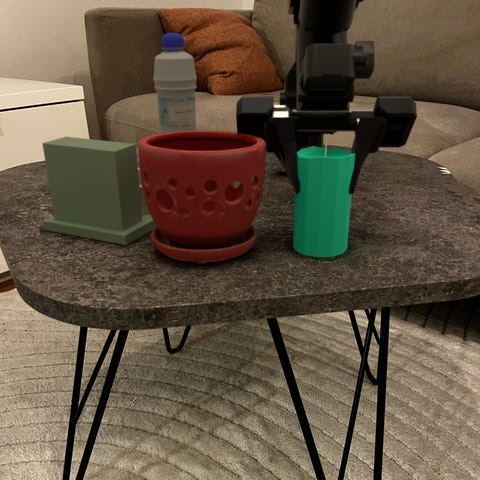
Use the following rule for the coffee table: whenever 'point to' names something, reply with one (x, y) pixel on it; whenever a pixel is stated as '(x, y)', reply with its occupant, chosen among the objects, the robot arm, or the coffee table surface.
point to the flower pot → (202, 192)
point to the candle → (323, 201)
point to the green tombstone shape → (96, 190)
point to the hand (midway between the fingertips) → (324, 192)
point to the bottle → (175, 86)
